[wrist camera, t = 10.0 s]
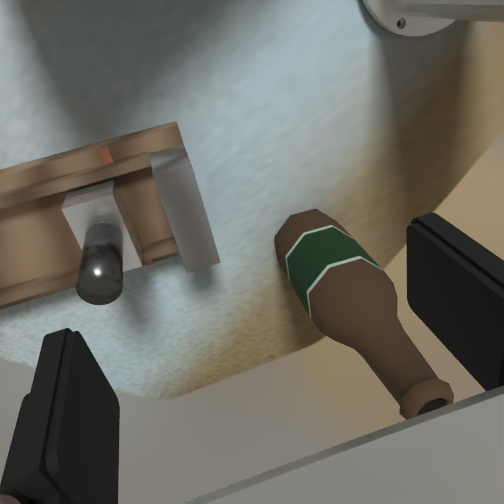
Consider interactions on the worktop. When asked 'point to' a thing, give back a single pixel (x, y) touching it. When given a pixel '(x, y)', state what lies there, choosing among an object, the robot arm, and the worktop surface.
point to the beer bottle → (357, 307)
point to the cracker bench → (133, 194)
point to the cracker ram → (102, 239)
